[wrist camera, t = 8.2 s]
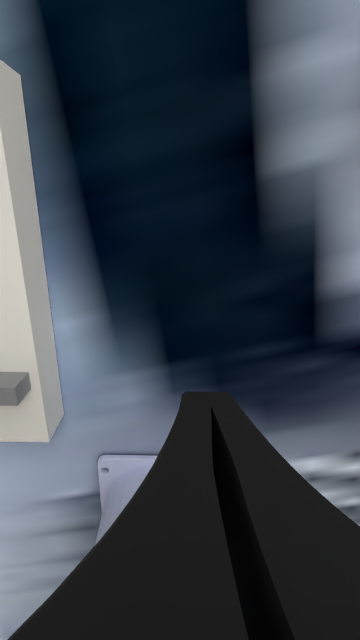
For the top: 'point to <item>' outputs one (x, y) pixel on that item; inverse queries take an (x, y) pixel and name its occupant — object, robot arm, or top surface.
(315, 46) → the top surface
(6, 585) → the top surface
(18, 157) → the panel
